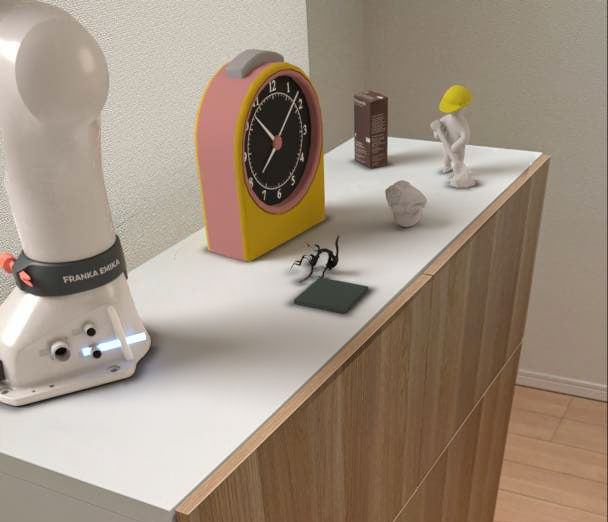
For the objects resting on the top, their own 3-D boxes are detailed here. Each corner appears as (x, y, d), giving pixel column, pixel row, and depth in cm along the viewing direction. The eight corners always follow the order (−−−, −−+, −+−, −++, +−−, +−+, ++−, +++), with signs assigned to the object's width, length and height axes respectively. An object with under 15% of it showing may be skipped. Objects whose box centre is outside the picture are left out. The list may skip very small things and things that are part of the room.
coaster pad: (343, 314, 107) (343, 309, 106) (293, 303, 110) (293, 299, 109) (368, 290, 112) (368, 286, 111) (320, 280, 115) (319, 276, 114)
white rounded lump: (391, 216, 132) (392, 173, 127) (430, 221, 130) (433, 177, 125) (379, 230, 128) (379, 186, 123) (419, 234, 126) (422, 190, 121)
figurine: (418, 183, 143) (423, 93, 133) (435, 168, 149) (440, 79, 139) (471, 189, 139) (480, 96, 129) (486, 173, 145) (495, 83, 135)
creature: (288, 290, 115) (339, 281, 113) (277, 256, 112) (330, 246, 109) (298, 268, 121) (347, 259, 118) (289, 234, 118) (339, 224, 115)
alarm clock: (248, 262, 121) (229, 70, 103) (206, 250, 125) (180, 63, 107) (327, 218, 133) (322, 38, 115) (285, 208, 137) (275, 34, 119)
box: (352, 161, 154) (352, 93, 146) (371, 157, 155) (372, 89, 147) (369, 169, 150) (369, 100, 142) (388, 164, 152) (390, 96, 143)
